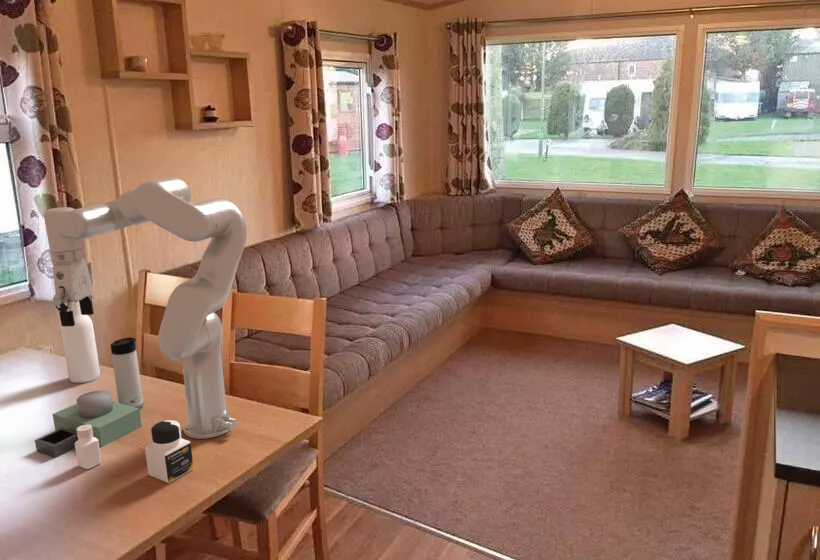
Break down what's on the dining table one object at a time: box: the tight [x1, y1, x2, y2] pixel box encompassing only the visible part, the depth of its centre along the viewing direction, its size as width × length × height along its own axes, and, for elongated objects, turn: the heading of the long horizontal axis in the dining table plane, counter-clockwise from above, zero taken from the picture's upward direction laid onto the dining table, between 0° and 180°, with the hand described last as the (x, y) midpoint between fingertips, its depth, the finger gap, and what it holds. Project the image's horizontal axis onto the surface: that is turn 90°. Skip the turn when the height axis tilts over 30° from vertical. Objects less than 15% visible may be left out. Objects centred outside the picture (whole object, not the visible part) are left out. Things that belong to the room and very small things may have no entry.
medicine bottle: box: [144, 419, 194, 484], centre depth 148 cm, size 7×7×12 cm
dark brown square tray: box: [34, 428, 79, 459], centre depth 161 cm, size 7×7×3 cm
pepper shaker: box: [74, 425, 102, 470], centre depth 153 cm, size 4×4×10 cm
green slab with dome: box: [52, 390, 143, 448], centre depth 170 cm, size 18×12×9 cm, turn 62°
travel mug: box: [110, 337, 144, 410], centre depth 181 cm, size 6×7×20 cm
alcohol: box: [60, 301, 101, 384], centre depth 201 cm, size 9×9×30 cm
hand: (78, 320), depth 172 cm, fingers open, 9 cm apart
